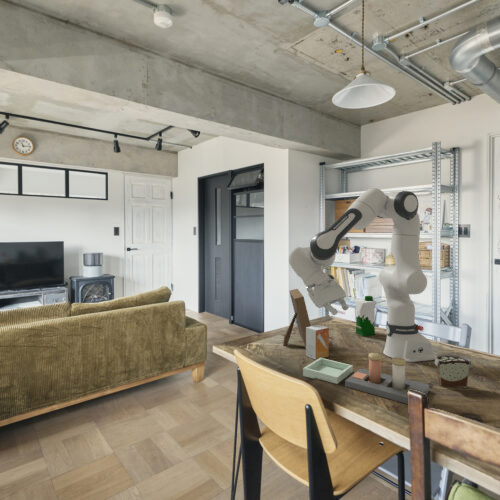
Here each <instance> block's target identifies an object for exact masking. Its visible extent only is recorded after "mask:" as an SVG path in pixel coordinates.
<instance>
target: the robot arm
mask: <svg viewBox="0 0 500 500" xmlns="http://www.w3.org/2000/svg"><path fill="white" fill-rule="evenodd" d="M418 210H419V199H418V197H417V195H416V194H415V193H414V192H413V191H408V190H402V191H390V192H387V193H385V192H384V191H382V189H380V188H377V187H372V188H369V189H367V190H365V191H364V192H363V193H362V194H361V195H359V196H358V197H357V198H356V199H355V200H353V202H352V203H351V205H349V206H348V208H346V211H345V212H344V213H343V214H342V215H340V217H339V218H338V219H336V221H335V222H333V223H332V224H331V225H330V226H329V227H328V228H327V229H325V230H323V231H320V232H319V233H317V234H315V235H314V236H313V237H312V238H311V240H310V242H309V246H307V247H303V246H302V247H301V246H298V247H296V248H295V249H293V250H292V251H291V253H290V254H289V256H288V264H289V265H290V266H291V269H292V271H294V273H295V274H296V275H297V277H299V278H300V280H302V282H303V283H304V286H305V287H306V292H307V293H308V294H307V295H308V297H309V298H310V300H311V302H312V303H313V304H314V305H315V307H316V308H318V309H322V308H325V310H327V311H329V312H330V313H331V314H332V316H335V315H337V314H338V313H339V311H338V310H337V308H336V307H334V306H332V304H335V303H339V304H340V306H341V309H342V310H343V311H347V310H349V305H348V304H347V302H346V300H345V298H346V297H347V293H346V291H345V290H344V289H343V287H342V286H341V285H340V284H339V282H338V281H336V277H335V276H334V275H332V274H328V273H327V272H325V271H323V270H325V269H327V268H329V267H331V266H332V265H333V264H334V262H335V260H336V254H337V250H338V247H339V243H340V242H341V240H343V239H344V237H345V236H347V234H348V233H350V231H351V230H352V229H354V230H359V231H361V230H365V228H367V227H368V226H369V225H371V224H372V223H373V221H374V220H375V219H376V218H379V219H392V222H393V226H392V233H391V234H392V235H391V243H390V254H391V255H392V257H393V260H394V265H388V266H384V267H382V268H381V269H380V271H379V273H378V280H379V282H380V284H381V286H382V287H383V288H382V289H383V291H384V296H385V299H386V300H385V301H386V305H387V321H386V324H385V325H386V326H385V332H386V333H385V334H386V337H385V338H386V340H385V345H384V349H383V350H382V351H383V354H384V356H386V357H389V358H391V359H392V358H395V357H397V358H403V359H405V360H406V363H415V362H423V361H424V362H425V361H432V360H433V361H435V359H436V357H437V356H438V355H439V353H437V352H436V351H435V350H434V346H433V343H432V341H430V340H429V339H428V338H427V337H425V335H424V334H422V333H421V332H423V331H424V330H425V329H424V326H422V325H418V324H417V323H416V319H415V317H416V316H415V315H416V314H415V313H416V310H415V309H416V306H415V304H414V302H413V301H412V299H411V296H410V295H420V294H422V293H423V292H424V291H425V290H426V288H427V286H428V285H427V284H428V278H427V276H426V275H425V274H424V272H423V270H422V267H421V264H420V257H419V256H420V255H419V249H420V247H419V246H420V237H421V223H420V222H421V220H420V215H419V213H418Z"/></svg>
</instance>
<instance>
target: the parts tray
mask: <svg viewBox="0 0 500 500" xmlns="http://www.w3.org/2000/svg"><path fill="white" fill-rule="evenodd" d="M353 372H354V365H353V364H348V363H345V362H339V361H336V360H333V359H327V358H325V357H324V358H319V359H317V360H314V361H312V362H311V363H309V364H307V365H306V366H304V367H303V368H302V376H303V377H306V378H309V379H312V380H315V379H317V380H321V381H325V382H329V383H332V384H335V385H339V383H341V382H342V381H344V380H345V379H346V378H347V377H348V376H350V375H351V374H353Z"/></svg>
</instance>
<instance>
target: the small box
mask: <svg viewBox="0 0 500 500" xmlns="http://www.w3.org/2000/svg"><path fill="white" fill-rule="evenodd" d="M329 331H330V327H328V326H326V325H325V326H324V325H322V324H316V325H311V326H310V327H306V347H305V356H306V357H308V358H310V359H312V360H314V361H316V360H317V359H319V358H324V359H325V358H326V357H327V358H328V357H329V354H330V352H329V349H330V348H329V347H330V346H329V344H330V341H329V339H330V332H329Z"/></svg>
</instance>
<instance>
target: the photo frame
mask: <svg viewBox="0 0 500 500" xmlns="http://www.w3.org/2000/svg"><path fill="white" fill-rule="evenodd" d="M289 294H290V295H289V296H290V298H291V303H292V306H293V311H294V315H293V317H292V319H291V320H290V323H289V326H288V327H287V330H286V332H285V334H284V337H283V344H282V346H286V345H288V344H289V340H290V339H291V335H292V332H293V328H294V325H295V321H296V323H297V328H298V332H299V335H300V336H299V337H301V340H302V343H303V344H304V347H305V348H306V327H310V326H312V325H311V321H310V317H309V312H308V310H307V305H306V301H305V297H304V295H303V294H302V293H301V291H300V290H299V289H298V288H295V289H291V290H290V289H289Z"/></svg>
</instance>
